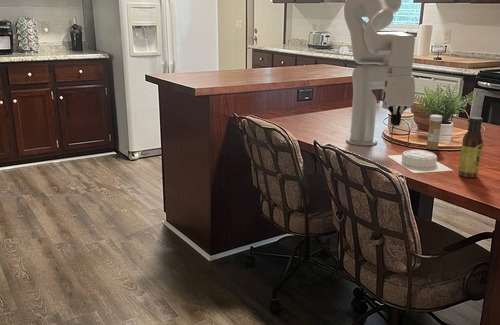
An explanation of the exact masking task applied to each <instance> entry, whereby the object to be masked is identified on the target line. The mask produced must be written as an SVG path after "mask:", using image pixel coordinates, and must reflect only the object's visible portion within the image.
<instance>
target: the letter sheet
mask: <svg viewBox="0 0 500 325" xmlns="http://www.w3.org/2000/svg"><path fill="white" fill-rule="evenodd" d="M387 157H388V158H389V159H391V160H393V161H394V162H395V163H398V164H399V165H400V166H402V167H404V168H405V169H406V170H407V171H410V172H411V173H412V174H425V173H439V172H440V173H441V172H453V171H454V170H453V169H452V168H450V167H448V166H446V165H444V164H443V163H440V162H439V161H437V162H436V165H435V166H433V167H428V168H425V167H424V168H421V167H412V166H410V165H406V164H404V163H403V162H402V154H394V155H393V154H391V155H387Z"/></svg>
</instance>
